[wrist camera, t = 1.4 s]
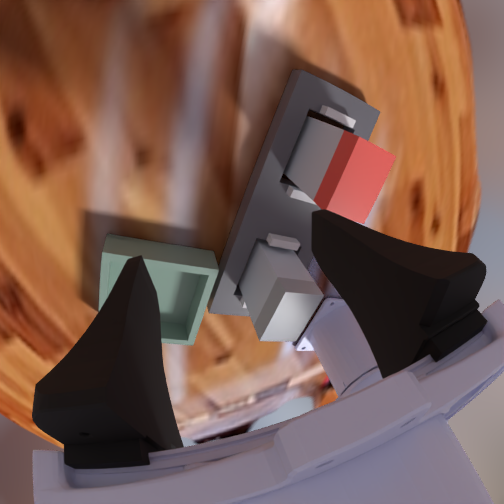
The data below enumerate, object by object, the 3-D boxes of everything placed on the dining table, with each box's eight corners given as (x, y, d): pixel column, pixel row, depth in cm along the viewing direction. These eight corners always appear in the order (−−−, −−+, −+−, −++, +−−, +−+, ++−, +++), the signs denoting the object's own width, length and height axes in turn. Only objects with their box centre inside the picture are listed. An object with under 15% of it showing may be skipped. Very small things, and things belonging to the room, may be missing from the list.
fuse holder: (368, 108, 20) (387, 113, 18) (275, 307, 29) (283, 324, 27) (292, 69, 17) (307, 69, 15) (206, 301, 26) (210, 319, 24)
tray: (213, 250, 24) (219, 269, 22) (189, 325, 27) (193, 345, 25) (107, 233, 20) (102, 252, 18) (101, 314, 24) (98, 335, 22)
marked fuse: (336, 129, 20) (396, 156, 15) (313, 181, 22) (363, 223, 17) (303, 114, 19) (359, 136, 14) (280, 170, 21) (324, 212, 16)
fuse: (287, 240, 25) (323, 295, 19) (267, 283, 27) (295, 341, 21) (254, 234, 24) (285, 291, 18) (236, 279, 26) (259, 340, 20)
